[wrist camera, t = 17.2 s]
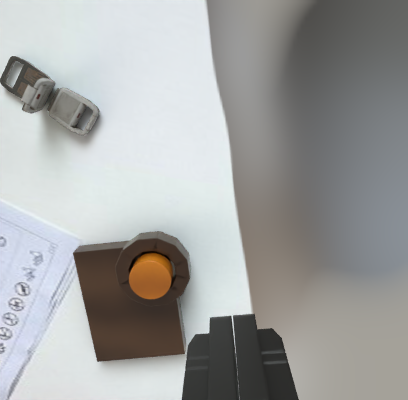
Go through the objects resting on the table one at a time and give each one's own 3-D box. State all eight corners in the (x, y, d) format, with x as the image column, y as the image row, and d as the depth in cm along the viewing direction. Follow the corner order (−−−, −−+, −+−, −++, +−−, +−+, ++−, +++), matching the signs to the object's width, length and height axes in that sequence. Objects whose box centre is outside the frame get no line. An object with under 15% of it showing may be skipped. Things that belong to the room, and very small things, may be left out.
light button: (130, 254, 31) (125, 263, 29) (170, 250, 31) (167, 258, 29) (136, 291, 32) (132, 301, 30) (175, 287, 32) (173, 297, 30)
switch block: (76, 233, 34) (62, 247, 31) (186, 222, 34) (184, 235, 30) (102, 350, 37) (91, 374, 34) (202, 341, 37) (201, 365, 34)
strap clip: (103, 108, 31) (87, 108, 27) (87, 138, 32) (69, 142, 28) (15, 53, 30) (-15, 44, 26) (0, 84, 31) (-32, 81, 27)
